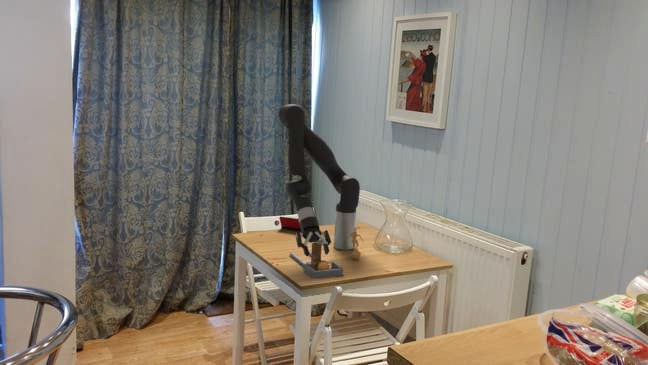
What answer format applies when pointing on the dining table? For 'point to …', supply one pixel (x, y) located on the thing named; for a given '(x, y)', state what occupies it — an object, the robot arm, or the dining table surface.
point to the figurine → (355, 254)
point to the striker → (316, 256)
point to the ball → (323, 266)
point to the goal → (324, 271)
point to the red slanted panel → (290, 223)
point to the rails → (300, 259)
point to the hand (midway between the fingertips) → (317, 254)
